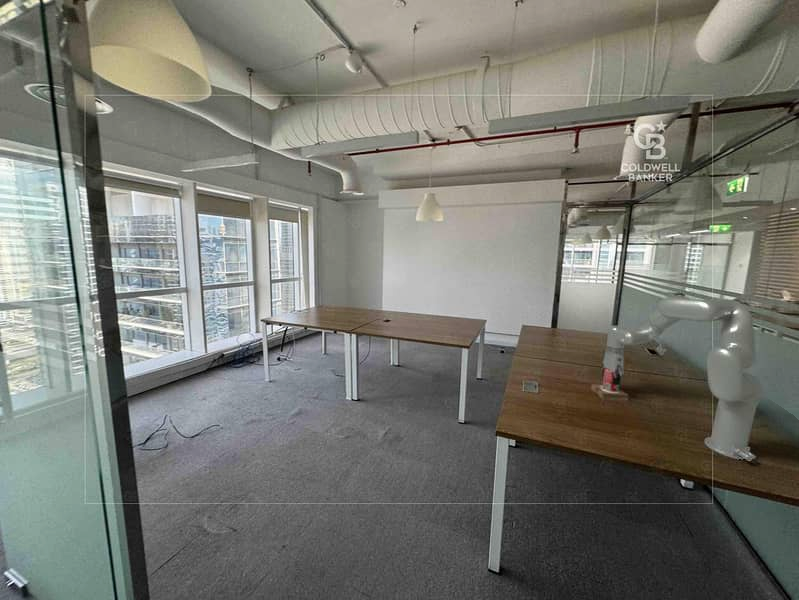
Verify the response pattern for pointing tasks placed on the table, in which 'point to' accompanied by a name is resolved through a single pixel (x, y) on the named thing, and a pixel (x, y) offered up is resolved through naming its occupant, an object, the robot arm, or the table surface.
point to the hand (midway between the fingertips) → (610, 380)
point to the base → (609, 393)
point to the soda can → (609, 380)
